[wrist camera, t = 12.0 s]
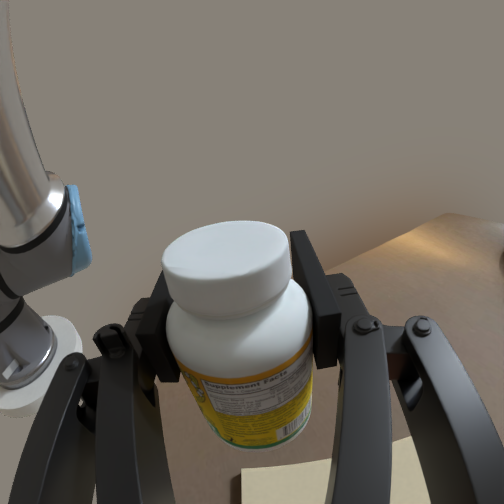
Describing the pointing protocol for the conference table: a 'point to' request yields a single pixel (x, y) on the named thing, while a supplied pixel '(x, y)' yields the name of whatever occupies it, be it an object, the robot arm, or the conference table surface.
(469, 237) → the conference table surface
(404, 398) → the robot arm
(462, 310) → the conference table surface
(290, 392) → the supplement bottle
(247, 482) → the sorting mat
